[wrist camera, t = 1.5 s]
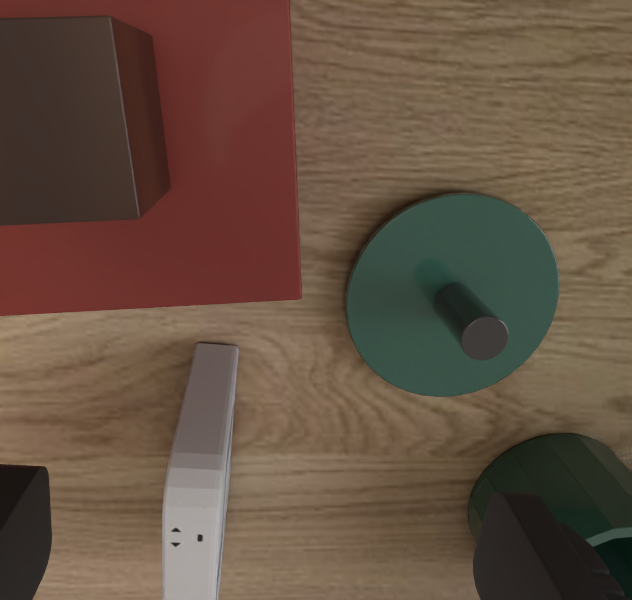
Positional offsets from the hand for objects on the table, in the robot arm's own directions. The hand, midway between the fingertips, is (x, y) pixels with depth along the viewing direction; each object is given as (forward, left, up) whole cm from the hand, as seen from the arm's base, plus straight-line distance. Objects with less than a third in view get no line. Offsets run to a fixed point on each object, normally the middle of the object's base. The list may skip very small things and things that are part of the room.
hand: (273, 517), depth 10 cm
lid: (-10, +4, -22) cm, 24 cm away
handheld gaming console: (+5, +14, -22) cm, 27 cm away
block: (+6, -7, -12) cm, 15 cm away
